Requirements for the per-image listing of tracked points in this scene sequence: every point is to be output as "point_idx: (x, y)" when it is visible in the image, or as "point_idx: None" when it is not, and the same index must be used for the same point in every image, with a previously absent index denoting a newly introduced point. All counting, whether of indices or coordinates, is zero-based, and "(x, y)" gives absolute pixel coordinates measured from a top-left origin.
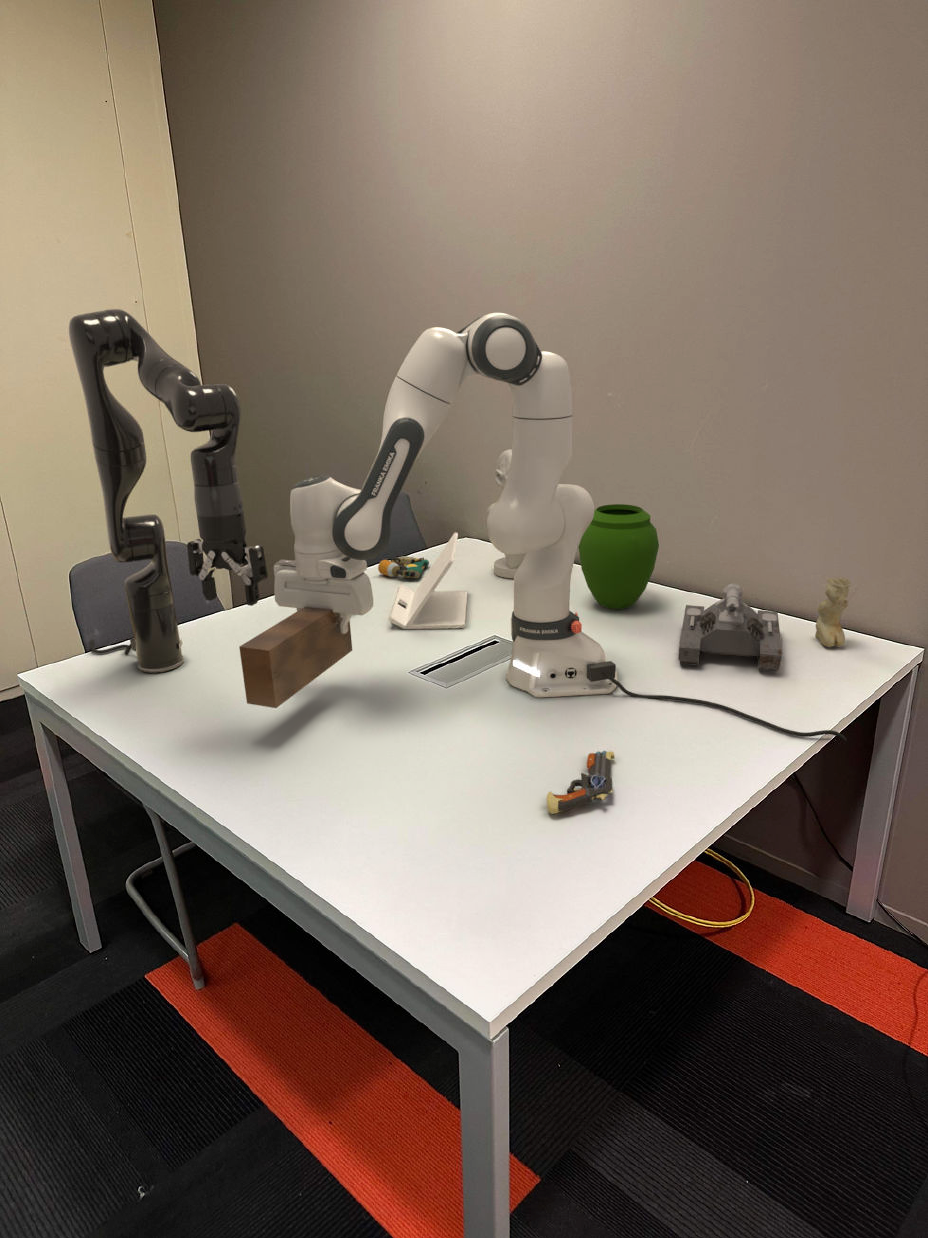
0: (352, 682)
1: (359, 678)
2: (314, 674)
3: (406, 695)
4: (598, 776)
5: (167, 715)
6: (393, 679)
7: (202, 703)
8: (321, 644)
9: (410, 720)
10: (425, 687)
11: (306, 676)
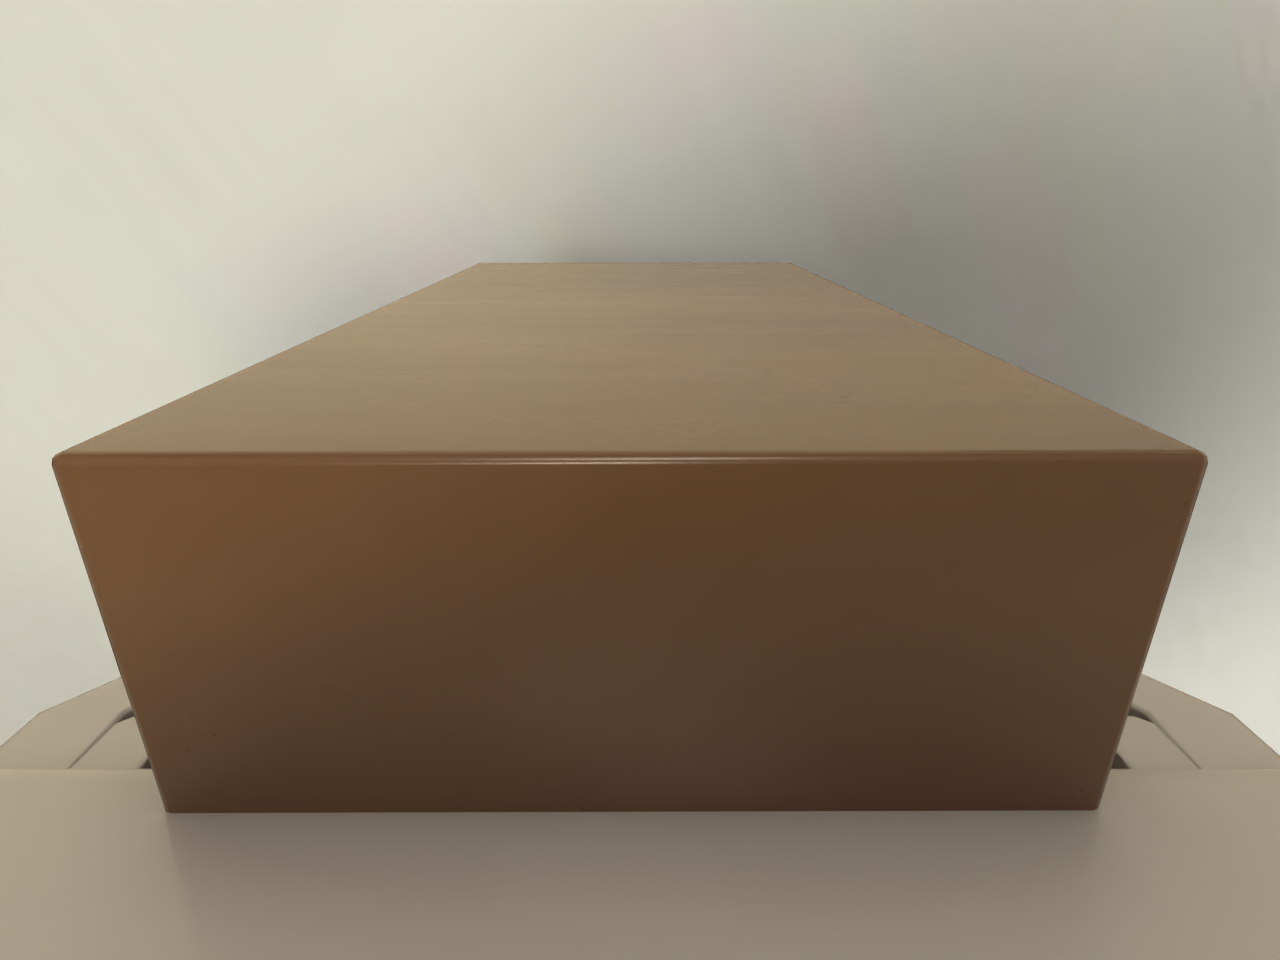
0: (684, 177)
1: (701, 90)
2: None
3: (1125, 249)
4: None
5: None
6: (964, 14)
7: (52, 697)
8: None
9: (1207, 532)
10: (1241, 75)
11: None
